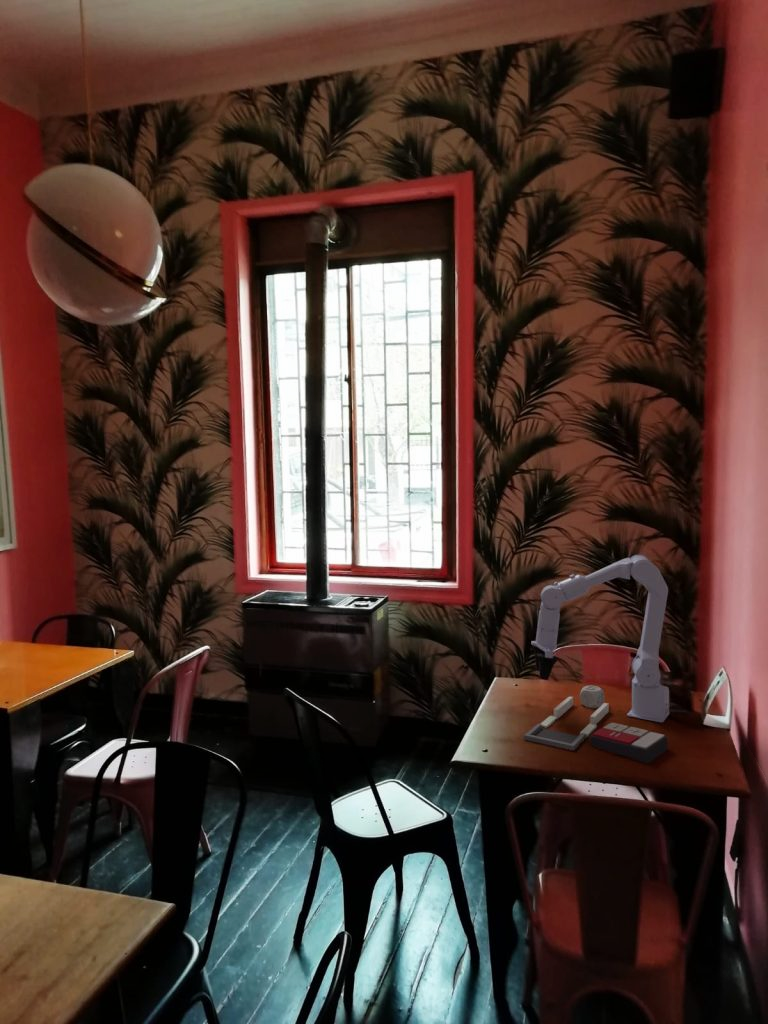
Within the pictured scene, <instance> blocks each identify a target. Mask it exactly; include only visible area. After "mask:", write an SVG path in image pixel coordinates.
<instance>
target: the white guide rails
mask: <svg viewBox="0 0 768 1024" xmlns="http://www.w3.org/2000/svg"><path fill="white" fill-rule="evenodd" d="M609 705H610V704H609V702H608V703H607V702H603V704H602V705H601V706H600V707H598V708H596V710H595V711H594V712H593V713H592V714H591V715H590V716H589V724H594V725H597V724H598V723H599V722H600V721H601V720H602V719H603V718H604V717H605V716H606V715H607V714H608V713H609V710H610V709H609V708H610V707H609ZM573 706H574V696H568V697H566V698H565V699H564V700H563V701H562V702H561V703H559V704H558V705H557V706H555V707H554V708H553V716H555V717H557V719H559V718H560V717H562V716H563V715H564V714H565V713H566V712H567V711H568V710H570V709H571V708H572V707H573ZM563 713H564V714H563Z"/></svg>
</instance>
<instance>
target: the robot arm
mask: <svg viewBox="0 0 768 1024" xmlns="http://www.w3.org/2000/svg"><path fill="white" fill-rule="evenodd" d="M631 576H632V578H633V579H634V580H635V581H636V582H638V583H640V584H641V585H642V586H643V587H644V588H645V589H646V590H647V592H648V593H647V599H646V605H645V613H644V619H643V624H642V631H641V637H640V642H639V643H640V644H639V647H638V650H636V651H637V652H636V656H635V657H634V659H633V660H632V662H631V669H632V671H633V673H634V677H633V678H632V680H631V709H630V710H629V712H627V714H626V716H627V717H630V718H631V717H632V718H637V719H640V720H641V719H642V720H645V721H646V720H647V721H652V722H657V723H664V722H665V720H666V719H667V718H668V716H669V715H670V689H669V687H668V686H666V685H665V686H664V685H663V684H661V682H660V681H661V674H662V673H661V671H660V668H659V667H660V666H659V664H660V655H659V651H660V650H659V649H660V644H661V638H662V632H663V625H664V621H665V620H664V618H665V612H666V605H667V602H668V601H667V600H668V595H669V587H668V585H667V583H666V581H665V580H664V577H663V575H662V572H661V571H660V569H659V568H658V567H657V566H656V565H655V564H654V563H653V562H652V561H651V560H650V559H649V558H648V557H647V556H645V555H643V554H635V555H632V556H631V557H626V558H625V557H624V558H623V559H620V560H618V561H616V562H613V563H612V564H609V565H607V566H605V567H603V568H601V569H599V570H596V571H594V572H592V573H590V574H587V575H581V574H576V575H575V574H574V573H572V574H569V578H566V579H564V580H562V581H559V582H558V581H555V582H554V583H553V585H552V584H551V585H549V584H548V585H546V586H545V587H543V588H542V590H541V592H540V599H541V604H540V605H539V609H540V610H539V611H538V620H537V628H536V636H535V640H531V643H530V644H531V645H532V648H533V651H534V656H535V669H536V671H538V672H539V679H540V680H544V681H548V680H549V678H550V676H551V672H552V669H553V668H554V665H555V664H556V663H557V662H558V660H559V658H558V656H554V652H555V650H556V649H557V647H558V645H557V643H558V642H557V641H558V635H559V624H560V618H561V614H560V611H561V610H560V609H561V606H562V605H563V603H567V602H570V601H572V600H576V599H577V598H580V597H581V596H584V595H587V594H588V593H589V590H590V589H591V588H592V587H595V586H597V585H600V584H603V583H606V582H608V581H612V580H613V579H617V578H620V579H625V580H631Z"/></svg>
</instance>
